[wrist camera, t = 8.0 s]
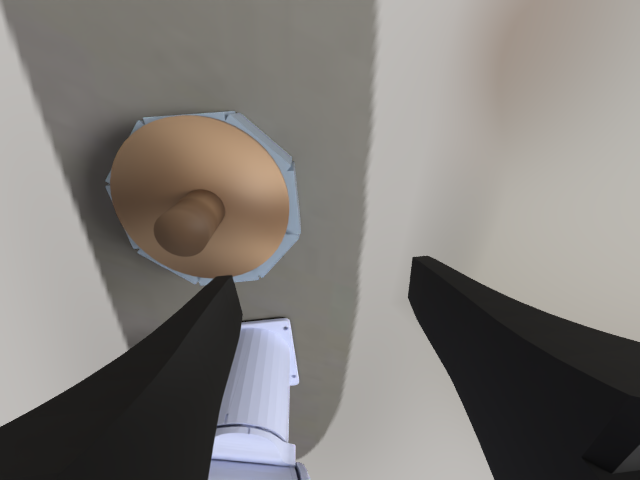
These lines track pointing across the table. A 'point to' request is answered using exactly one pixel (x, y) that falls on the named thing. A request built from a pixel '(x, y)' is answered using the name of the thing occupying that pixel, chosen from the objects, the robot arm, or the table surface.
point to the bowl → (289, 176)
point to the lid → (200, 196)
